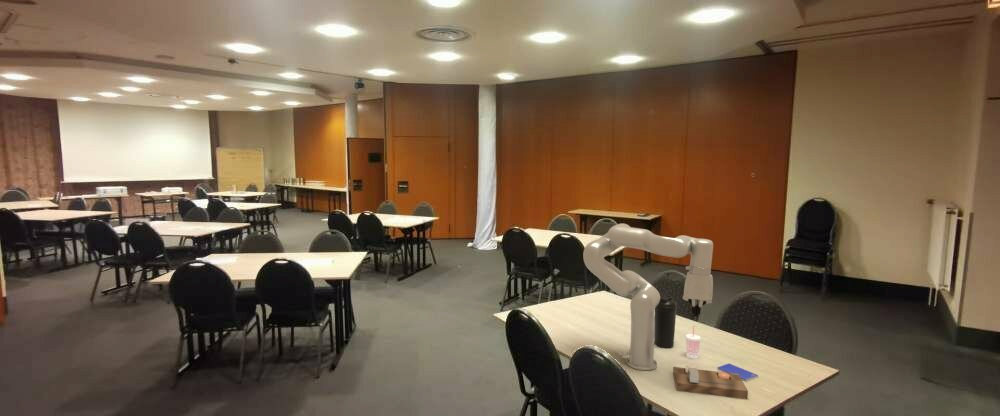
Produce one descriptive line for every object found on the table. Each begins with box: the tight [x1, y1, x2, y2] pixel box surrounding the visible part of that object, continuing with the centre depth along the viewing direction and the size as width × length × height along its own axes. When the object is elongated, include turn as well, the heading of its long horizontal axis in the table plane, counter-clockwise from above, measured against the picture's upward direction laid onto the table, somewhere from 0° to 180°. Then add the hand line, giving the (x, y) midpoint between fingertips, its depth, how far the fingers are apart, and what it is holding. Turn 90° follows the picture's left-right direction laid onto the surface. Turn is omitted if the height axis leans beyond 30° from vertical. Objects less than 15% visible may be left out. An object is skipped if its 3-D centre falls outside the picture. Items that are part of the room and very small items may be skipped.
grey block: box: [688, 367, 699, 383], centre depth 174 cm, size 3×5×4 cm, turn 165°
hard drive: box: [716, 363, 759, 383], centre depth 187 cm, size 2×8×12 cm
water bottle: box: [654, 294, 678, 349], centre depth 214 cm, size 10×10×23 cm
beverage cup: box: [685, 325, 702, 359], centre depth 202 cm, size 6×6×14 cm
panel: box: [672, 366, 749, 400], centre depth 176 cm, size 24×14×3 cm, turn 75°
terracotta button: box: [718, 371, 730, 379], centre depth 178 cm, size 4×4×3 cm
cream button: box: [684, 364, 697, 375], centre depth 181 cm, size 4×4×3 cm
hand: (695, 315), depth 182 cm, fingers closed
